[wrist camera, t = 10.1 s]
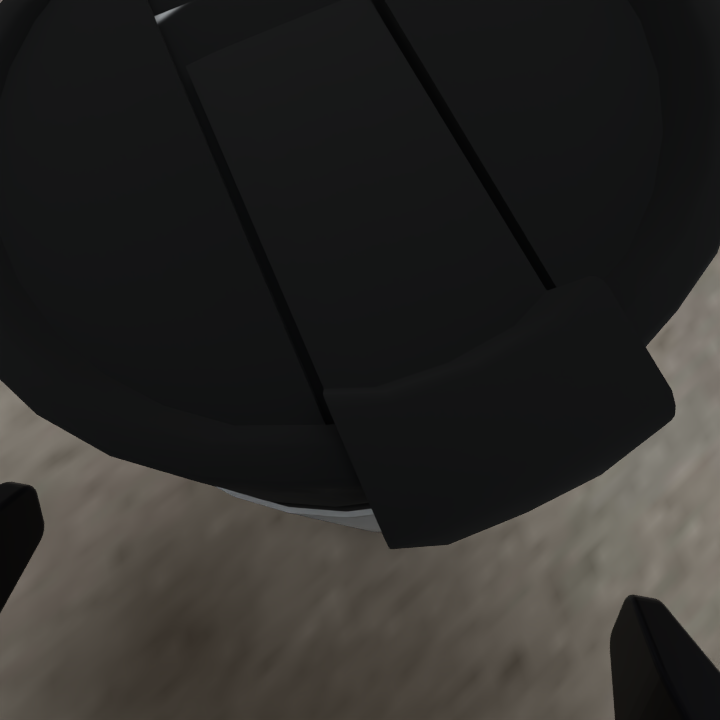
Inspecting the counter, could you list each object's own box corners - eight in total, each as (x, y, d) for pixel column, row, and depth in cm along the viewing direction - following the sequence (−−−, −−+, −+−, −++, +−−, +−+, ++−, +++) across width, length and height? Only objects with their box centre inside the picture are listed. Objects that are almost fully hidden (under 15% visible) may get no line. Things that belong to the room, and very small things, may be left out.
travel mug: (345, 571, 22) (-40, 778, 3) (279, 405, 24) (-226, -129, 5) (504, 498, 22) (1088, 260, 3) (426, 340, 24) (505, -404, 5)
